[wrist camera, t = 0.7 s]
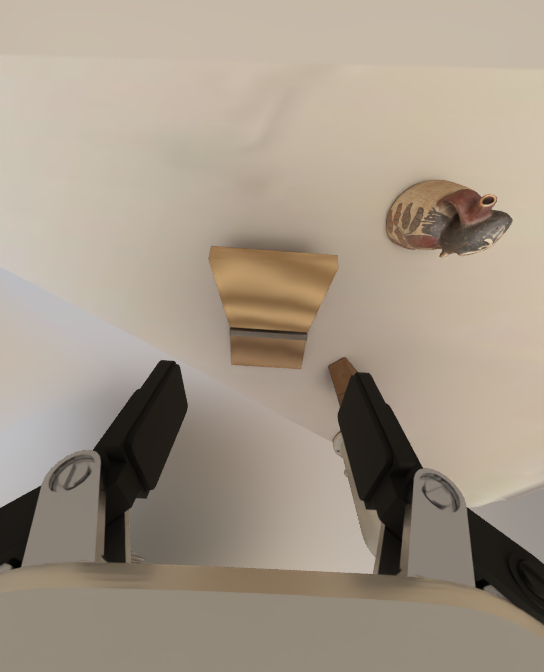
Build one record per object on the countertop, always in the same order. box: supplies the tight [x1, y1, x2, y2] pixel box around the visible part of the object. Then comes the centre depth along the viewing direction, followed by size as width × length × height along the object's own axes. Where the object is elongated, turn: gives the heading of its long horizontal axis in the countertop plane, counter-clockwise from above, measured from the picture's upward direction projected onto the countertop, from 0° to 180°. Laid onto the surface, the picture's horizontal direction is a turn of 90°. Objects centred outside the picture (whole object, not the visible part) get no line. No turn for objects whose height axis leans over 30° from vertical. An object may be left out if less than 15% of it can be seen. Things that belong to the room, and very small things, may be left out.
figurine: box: [386, 180, 512, 258], centre depth 22 cm, size 7×7×12 cm
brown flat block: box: [230, 327, 307, 369], centre depth 37 cm, size 7×12×2 cm, turn 86°
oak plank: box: [209, 246, 338, 332], centre depth 28 cm, size 15×12×2 cm
